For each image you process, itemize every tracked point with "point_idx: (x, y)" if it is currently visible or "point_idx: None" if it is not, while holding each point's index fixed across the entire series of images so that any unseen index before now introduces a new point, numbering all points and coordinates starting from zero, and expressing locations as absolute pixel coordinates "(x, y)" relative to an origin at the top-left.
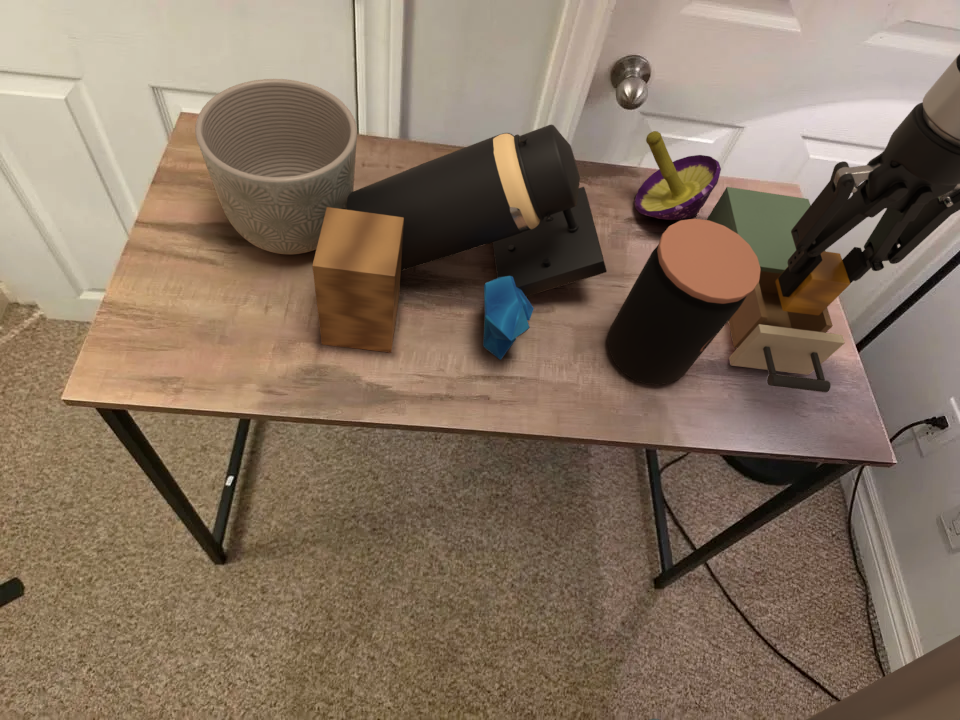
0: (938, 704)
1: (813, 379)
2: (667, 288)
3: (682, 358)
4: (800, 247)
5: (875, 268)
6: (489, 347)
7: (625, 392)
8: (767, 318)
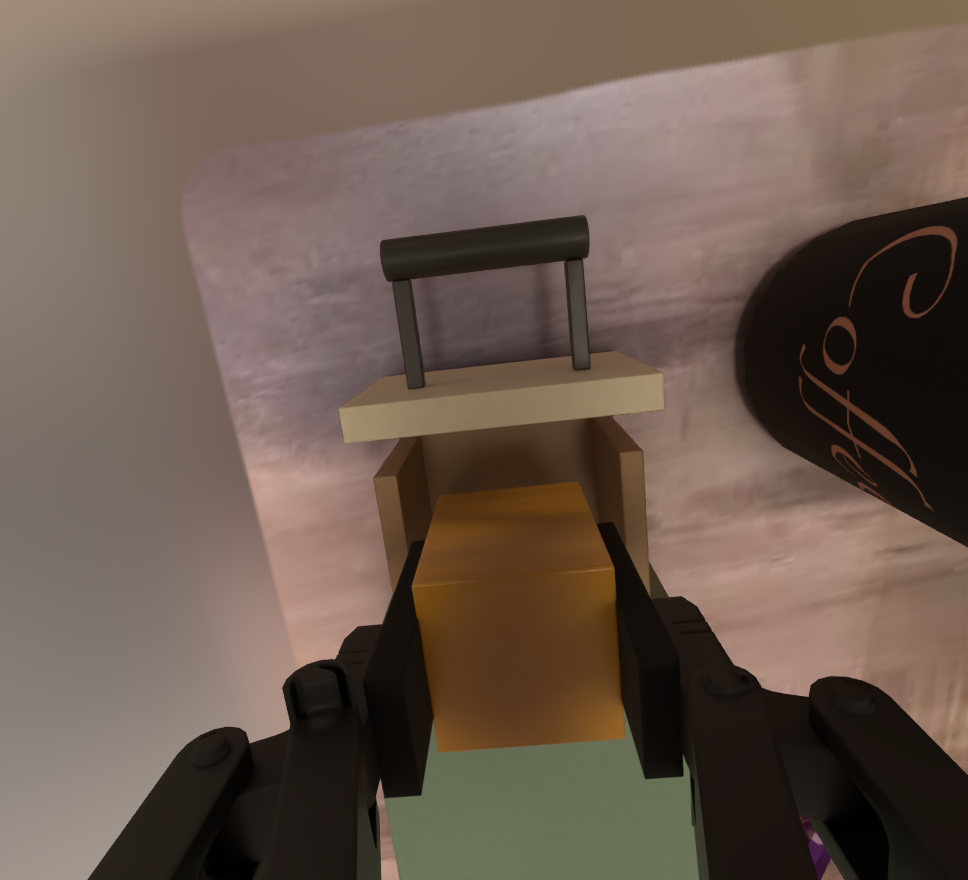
0: None
1: (440, 263)
2: None
3: (958, 200)
4: (867, 694)
5: (329, 672)
6: None
7: (935, 189)
8: None
